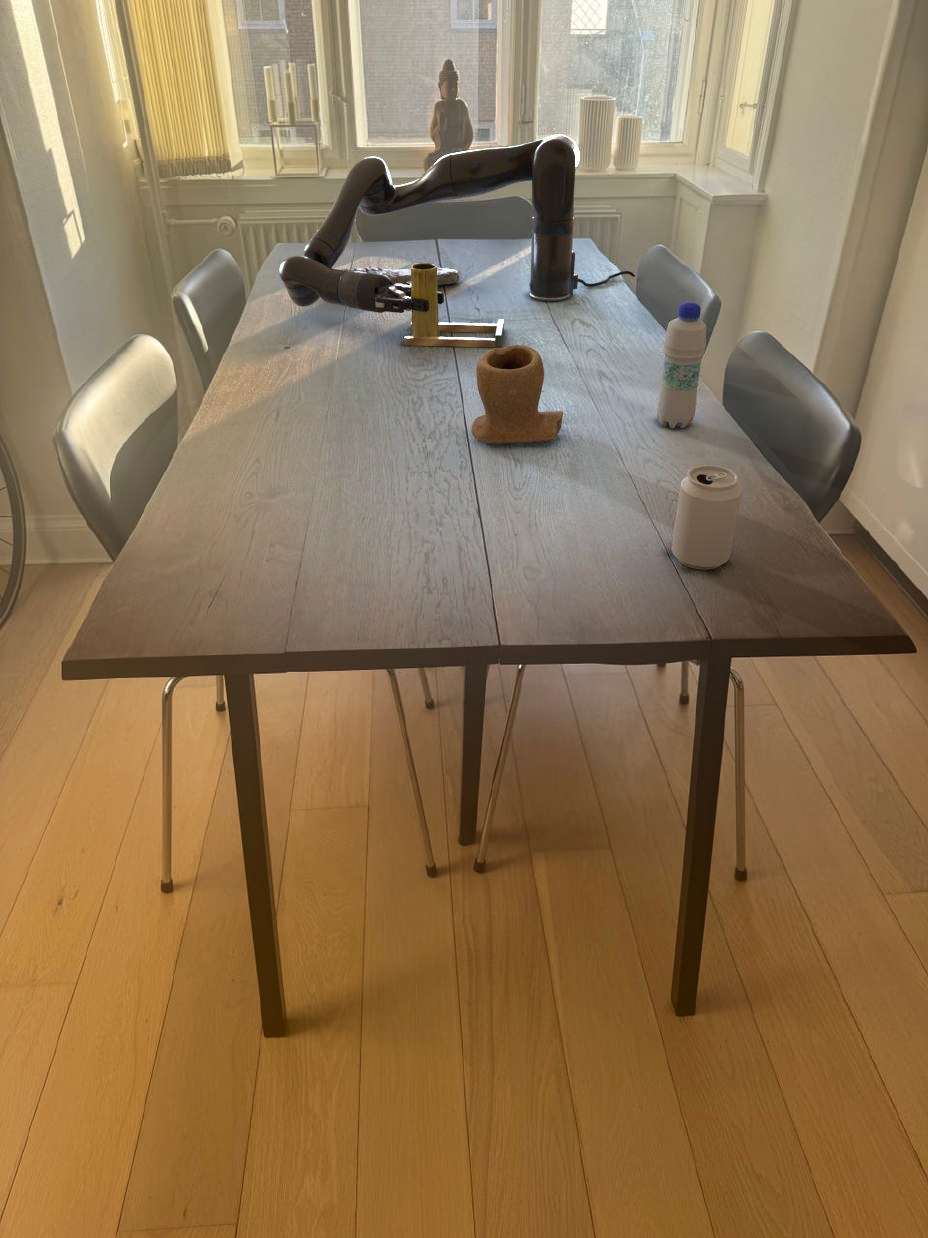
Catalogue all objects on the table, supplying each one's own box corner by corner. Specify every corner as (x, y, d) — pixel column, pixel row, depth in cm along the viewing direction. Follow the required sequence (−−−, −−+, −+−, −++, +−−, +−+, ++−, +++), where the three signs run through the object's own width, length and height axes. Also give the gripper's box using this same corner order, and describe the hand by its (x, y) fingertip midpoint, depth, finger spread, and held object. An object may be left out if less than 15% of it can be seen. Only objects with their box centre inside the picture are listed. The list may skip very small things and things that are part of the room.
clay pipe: (471, 455, 149) (471, 362, 141) (471, 424, 159) (471, 336, 151) (567, 455, 149) (573, 362, 141) (561, 424, 159) (566, 335, 150)
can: (664, 544, 126) (675, 462, 120) (719, 541, 127) (733, 459, 120) (679, 574, 120) (692, 489, 113) (737, 571, 121) (753, 486, 114)
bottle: (697, 418, 161) (714, 298, 150) (691, 433, 156) (709, 311, 144) (657, 413, 163) (671, 295, 151) (650, 428, 158) (665, 306, 146)
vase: (442, 332, 198) (440, 262, 190) (438, 342, 193) (437, 270, 185) (413, 331, 199) (410, 261, 191) (408, 341, 194) (406, 269, 186)
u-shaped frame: (404, 345, 192) (404, 332, 191) (411, 328, 201) (410, 316, 199) (501, 347, 191) (501, 335, 189) (503, 331, 199) (504, 319, 198)
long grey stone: (463, 293, 226) (456, 284, 234) (464, 270, 223) (457, 261, 232) (314, 292, 220) (313, 283, 228) (313, 269, 217) (312, 260, 226)
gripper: (344, 281, 190) (417, 292, 183) (382, 264, 200) (452, 274, 194) (347, 318, 194) (418, 331, 188) (384, 300, 205) (453, 311, 198)
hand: (435, 302), depth 191 cm, fingers closed on vase, 5 cm apart
